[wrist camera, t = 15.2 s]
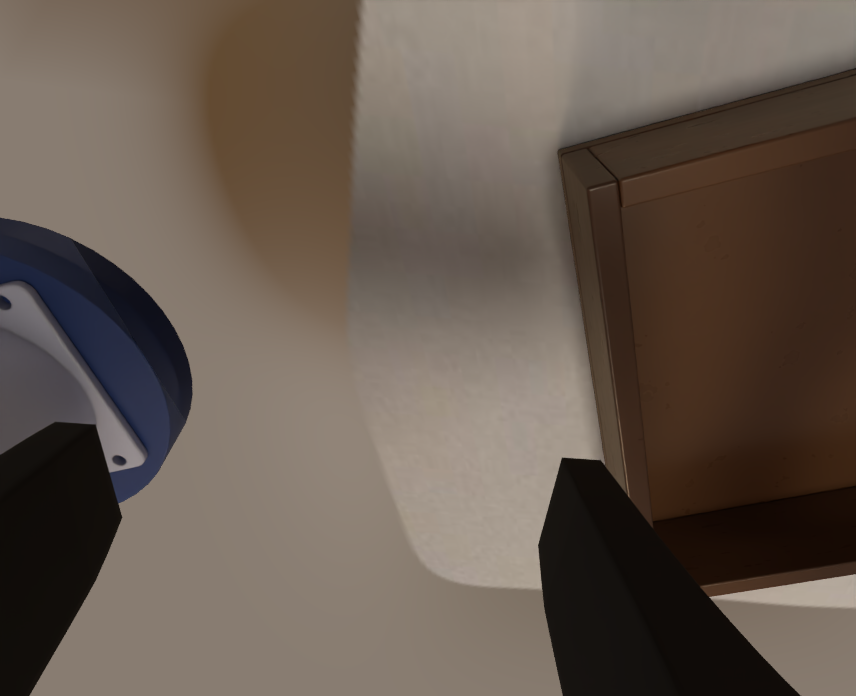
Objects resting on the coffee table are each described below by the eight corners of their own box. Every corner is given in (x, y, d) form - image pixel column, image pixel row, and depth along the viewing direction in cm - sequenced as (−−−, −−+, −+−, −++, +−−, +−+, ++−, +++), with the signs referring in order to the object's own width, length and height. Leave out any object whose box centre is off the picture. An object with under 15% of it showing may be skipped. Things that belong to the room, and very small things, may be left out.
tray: (615, 529, 23) (641, 608, 20) (556, 149, 16) (586, 188, 13) (951, 470, 22) (1034, 547, 19) (1075, 8, 14) (1252, 14, 11)
